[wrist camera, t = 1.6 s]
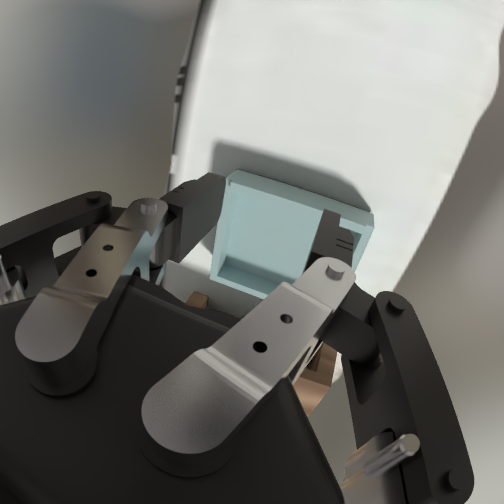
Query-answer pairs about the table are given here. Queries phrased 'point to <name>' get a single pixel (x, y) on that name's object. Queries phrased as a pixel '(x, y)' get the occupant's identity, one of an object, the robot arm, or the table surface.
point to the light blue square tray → (274, 232)
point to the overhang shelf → (312, 378)
